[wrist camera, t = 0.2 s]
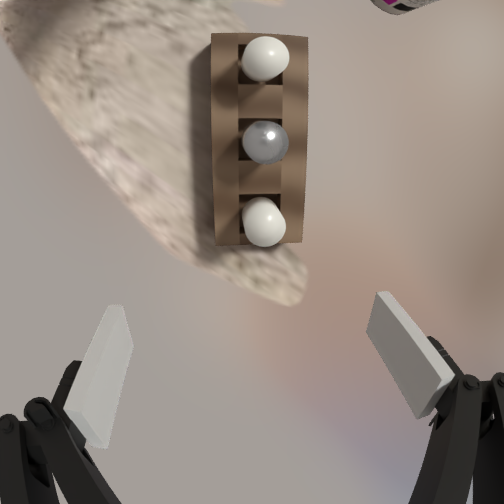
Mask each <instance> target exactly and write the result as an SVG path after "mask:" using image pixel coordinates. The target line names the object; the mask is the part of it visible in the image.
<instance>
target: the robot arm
mask: <svg viewBox="0 0 504 504" xmlns="http://www.w3.org/2000/svg"><path fill="white" fill-rule="evenodd" d="M366 333H367V334H368V336H369V338H370V339H371V341H372V342H373V344H374V346H375V347H376V349H377V351H378V353H379V354H380V356H381V358H382V359H383V361H384V363H385V364H386V366H387V368H388V370H389V371H390V373H391V375H392V376H393V378H394V380H395V381H396V383H397V385H398V387H399V389H400V390H401V392H402V394H403V396H404V397H405V399H406V401H407V403H408V405H409V406H410V408H411V410H412V412H413V413H414V415H415V417H416V419H420V418H422V417H425V416H428V415H429V414H430V413H431V412H432V410H433V409H434V408H436V409H437V411H438V412H437V414H436V415H435V416H434V418H433V419H432V420H431V422H430V424H429V426H431V425H432V423H433V422H434V424H433V428H432V432H431V436H430V440H429V444H428V447H427V451H426V454H425V458H424V461H423V464H422V467H421V470H420V474H419V477H418V480H417V482H416V485H415V488H414V491H413V493H412V496H411V498H410V501H409V503H408V504H466V501H467V498H468V494H469V489H470V485H471V480H472V476H473V504H504V373H501V372H499V373H496V374H495V375H494V376H493V377H492V379H491V380H490V381H479V380H478V379H477V378H476V377H475V376H473V375H468V374H466V375H464V374H463V372H462V371H461V370H460V368H459V367H458V366H457V365H456V363H455V362H454V361H453V359H452V358H451V357H450V355H448V353H447V352H446V350H444V348H443V347H442V345H441V344H440V343H439V342H438V341H437V340H435V339H434V338H433V337H431V336H428V337H426V336H425V335H424V334H423V333H422V331H421V330H420V329H419V327H418V326H417V325H416V324H415V322H414V321H413V320H412V319H411V318H410V316H409V315H408V314H407V313H406V311H405V310H404V309H403V308H402V307H401V305H400V304H399V303H398V302H397V301H396V300H395V299H394V297H393V296H392V295H391V294H390V293H389V292H388V291H383V292H377V293H376V296H375V300H374V304H373V308H372V312H371V316H370V320H369V323H368V327H367V330H366ZM133 348H134V344H133V341H132V338H131V335H130V331H129V327H128V324H127V320H126V317H125V313H124V309H123V306H122V305H109V306H108V308H107V310H106V312H105V314H104V316H103V318H102V320H101V322H100V324H99V326H98V328H97V330H96V332H95V334H94V337H93V339H92V341H91V343H90V345H89V348H88V350H87V352H86V354H85V356H84V359H83V361H75V360H74V361H73V362H72V363H71V364H70V365H69V366H68V367H67V368H66V370H65V372H64V374H63V378H62V379H61V381H60V383H59V384H60V385H59V386H58V388H57V390H56V392H55V395H54V397H53V400H52V402H51V403H50V402H49V401H48V400H47V399H46V398H44V397H37V398H33V399H32V400H31V401H29V402H28V403H27V404H26V406H25V408H24V417H25V418H26V419H27V420H28V421H19V420H18V419H17V418H16V416H14V415H12V414H5V415H3V416H1V417H0V498H1V504H60V503H59V500H58V496H57V493H56V488H55V484H54V479H53V475H54V477H55V479H56V481H57V483H58V485H59V487H60V489H61V491H62V493H63V494H64V497H65V498H66V500H67V502H68V504H121V502H120V501H119V500H118V498H117V497H116V495H115V494H114V492H113V491H112V490H111V488H110V487H109V485H108V484H107V482H106V481H105V479H104V478H103V476H102V475H101V473H100V471H99V470H98V468H97V467H96V466H95V463H94V462H93V460H92V458H91V457H90V455H89V453H88V451H87V450H86V449H85V448H84V446H85V443H86V440H87V442H88V443H89V444H90V445H91V446H92V447H97V448H103V449H108V445H109V441H110V436H111V432H112V427H113V423H114V419H115V414H116V410H117V406H118V402H119V398H120V394H121V391H122V387H123V383H124V379H125V375H126V372H127V369H128V365H129V362H130V358H131V355H132V351H133ZM493 413H494V419H493ZM52 473H53V475H52Z"/></svg>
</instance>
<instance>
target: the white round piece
mask: <svg viewBox="0 0 504 504" xmlns="http://www.w3.org/2000/svg"><path fill="white" fill-rule="evenodd" d="M288 63H289V52H288V49H287V48H286V46H285V45H284V44H283V43H282V42H281V41H280V40H278V39H276V38H273V37H268V36H263V37H258V38H256V39H254V40H252V41H251V42H250V43H249V44H248V45H247V47H246V48H245V51H244V54H243V57H242V60H241V67H242V70H243V72H244V74H245V75H246V76H247V77H248V78H250V79H252V80H254V81H258V82H265V81H269V80H271V79H273V78H274V77H276V76H277V75H278V74H280V73H281V72H282V71H284V70H285V68H286V67H287V65H288Z"/></svg>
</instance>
